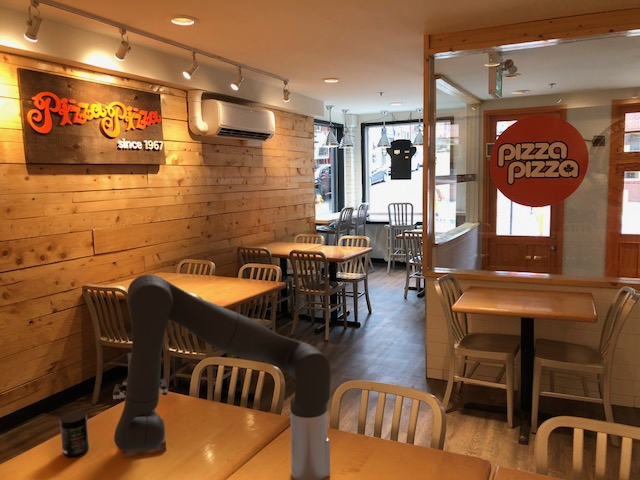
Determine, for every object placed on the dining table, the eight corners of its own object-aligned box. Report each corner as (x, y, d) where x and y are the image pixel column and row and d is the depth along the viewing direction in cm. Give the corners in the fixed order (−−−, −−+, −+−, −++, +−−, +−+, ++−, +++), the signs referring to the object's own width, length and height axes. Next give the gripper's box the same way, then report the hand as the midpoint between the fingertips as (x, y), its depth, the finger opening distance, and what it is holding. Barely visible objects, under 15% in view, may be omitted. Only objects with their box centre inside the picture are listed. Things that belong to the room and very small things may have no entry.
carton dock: (164, 426, 159) (164, 418, 158) (166, 450, 145) (165, 441, 145) (124, 432, 155) (123, 424, 155) (122, 457, 142) (121, 449, 141)
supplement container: (94, 449, 146) (92, 414, 145) (73, 461, 140) (70, 424, 139) (79, 443, 149) (76, 409, 148) (57, 455, 143) (54, 419, 142)
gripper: (169, 385, 135) (166, 364, 151) (109, 393, 131) (113, 370, 146) (170, 413, 136) (167, 389, 152) (110, 421, 132) (114, 395, 147)
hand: (140, 379), depth 149 cm, fingers closed on coffee box, 6 cm apart
